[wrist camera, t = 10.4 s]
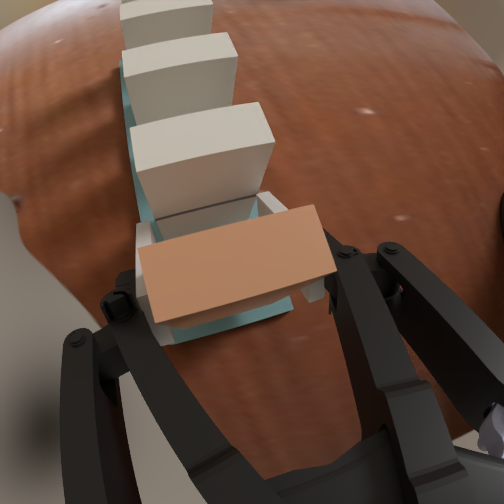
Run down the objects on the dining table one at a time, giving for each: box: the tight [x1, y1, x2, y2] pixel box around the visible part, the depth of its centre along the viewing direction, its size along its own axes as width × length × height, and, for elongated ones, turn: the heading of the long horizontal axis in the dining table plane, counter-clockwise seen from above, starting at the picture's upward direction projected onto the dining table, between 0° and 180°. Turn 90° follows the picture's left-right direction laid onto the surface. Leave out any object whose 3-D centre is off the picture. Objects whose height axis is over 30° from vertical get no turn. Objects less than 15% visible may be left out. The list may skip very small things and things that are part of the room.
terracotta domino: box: [137, 204, 337, 329], centre depth 15 cm, size 2×6×11 cm, turn 107°
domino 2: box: [122, 32, 238, 126], centre depth 20 cm, size 2×6×11 cm, turn 107°
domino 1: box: [120, 0, 213, 50], centre depth 21 cm, size 2×6×11 cm, turn 107°
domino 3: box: [130, 102, 275, 241], centre depth 18 cm, size 2×6×11 cm, turn 107°
